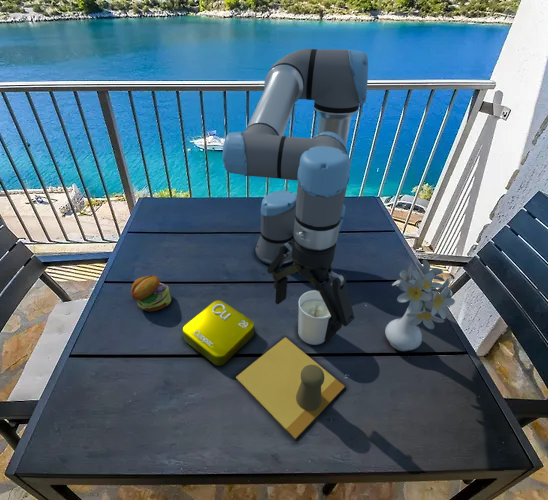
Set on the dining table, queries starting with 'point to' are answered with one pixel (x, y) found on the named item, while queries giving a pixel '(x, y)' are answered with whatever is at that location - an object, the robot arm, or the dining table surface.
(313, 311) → the candle holder
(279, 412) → the towel
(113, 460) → the dining table surface
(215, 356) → the element tile
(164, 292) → the cheeseburger
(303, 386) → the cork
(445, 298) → the flower vase
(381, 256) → the dining table surface
